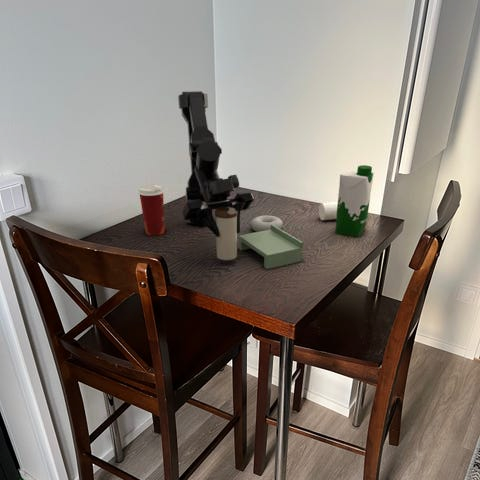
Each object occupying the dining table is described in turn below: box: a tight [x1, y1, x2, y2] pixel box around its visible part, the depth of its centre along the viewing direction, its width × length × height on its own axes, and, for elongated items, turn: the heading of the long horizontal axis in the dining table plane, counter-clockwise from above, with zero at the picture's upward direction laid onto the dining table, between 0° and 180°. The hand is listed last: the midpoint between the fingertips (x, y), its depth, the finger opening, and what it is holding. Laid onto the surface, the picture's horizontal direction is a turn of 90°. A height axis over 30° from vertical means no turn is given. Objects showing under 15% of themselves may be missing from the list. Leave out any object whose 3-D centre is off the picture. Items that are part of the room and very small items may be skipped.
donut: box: [250, 215, 283, 232], centre depth 153 cm, size 10×4×10 cm
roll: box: [318, 201, 338, 221], centre depth 160 cm, size 6×12×6 cm, turn 100°
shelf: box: [238, 224, 304, 270], centre depth 135 cm, size 16×11×6 cm
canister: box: [214, 207, 238, 261], centre depth 128 cm, size 6×6×12 cm
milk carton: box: [335, 164, 375, 238], centre depth 146 cm, size 9×9×20 cm
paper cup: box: [137, 184, 165, 236], centre depth 148 cm, size 8×8×14 cm
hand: (228, 234), depth 127 cm, fingers closed on canister, 5 cm apart
